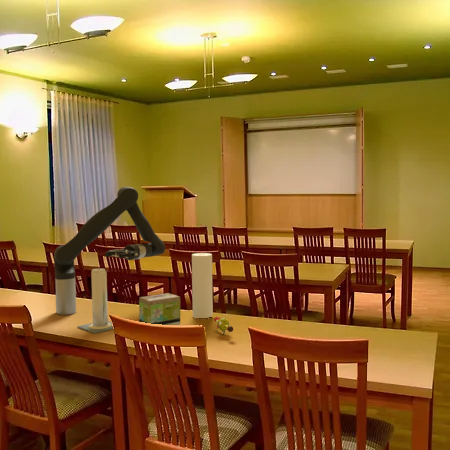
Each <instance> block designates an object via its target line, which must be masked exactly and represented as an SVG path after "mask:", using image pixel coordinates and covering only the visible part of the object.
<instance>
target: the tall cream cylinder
mask: <svg viewBox="0 0 450 450" xmlns="http://www.w3.org/2000/svg"><path fill="white" fill-rule="evenodd" d="M90 273H91V305H92V306H91V307H92V310H91V311H92V323H93V327H105V326H107V325H108V321H109V315H108V313H109V312H108V310H109V309H108V284H107V283H108V279H107V277H108V276H107V275H108V274H107V270H106V269H105V268H92V269H91V272H90Z"/></svg>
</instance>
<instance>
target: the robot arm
mask: <svg viewBox="0 0 450 450" xmlns="http://www.w3.org/2000/svg"><path fill="white" fill-rule="evenodd" d="M138 199H139V192H138V190H136V189H135V188H134V187H132V186H131V187H130V186H123V187H121V188H119V190H118V191H117V197H115V199H114V200H113V201H112V202H111V203H109V205H107V206H105V207H104V208H102V209H101V210H99V211H98V212H96V213H95V214H94V215H92V216H91V217H90V218H89V219H88V220H87V221H86V222H85V223H84V224H83V225H82V227H81V228H80V229H79V230H78V232H77V233H76V234H75V236H73V238H71V239H70V240H68V242H67V243H65V244H60V245H59V246H57V247H56V249H54V254H53V258H54V259H53V260H54V278H55V279H54V280H55V312H56V314H57V315H62V316H63V315H67V316H68V315H72V314H75V313H77V293H76V270H75V269H76V268H75V259H76V258H77V257H78V256H79V255H80V253H82V251H83V250H85V248H86V247H87V246H89V245H90V244H91V243H93V242H94V241H95V240H96V239H97V238H98V237H100V236H101V235H102V234H103V233H104V232H105V231H106V230H107V229H109V227H110V226H111V225H112V224H113V223H114V222H115V221H116V220H117V219H118V218H119V217H120V215H122V214H123V213H125V212H127V214H128V215H129V217H130V219H131V220H132V222H133V224H134V225H135V227H136V229H137V232H138V233H139V235H140V238H141V239H142V240H143V241H144V242H149V243H135V244H127V245H126V246H125V247H124V248H121V249H117V248H116V249H112V250H111V249H108V251H105V252H104V257H106V258H108V257H115V258H119V259H124V258H125V260H127V261H134V260H141V259H144V258H151V257H155V256H161V255H163V254H164V253H165V251H166V245H165V243H164V241H163V240H162V239H161V238H160V237H159V236H158V234H156V233H155V231H154V229H153V227H152V225H151V224H150V221H149V220H148V219H147V217H146V216H145V215H144V213H143V212H142V210H141V208H140V206H139V205H138Z"/></svg>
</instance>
